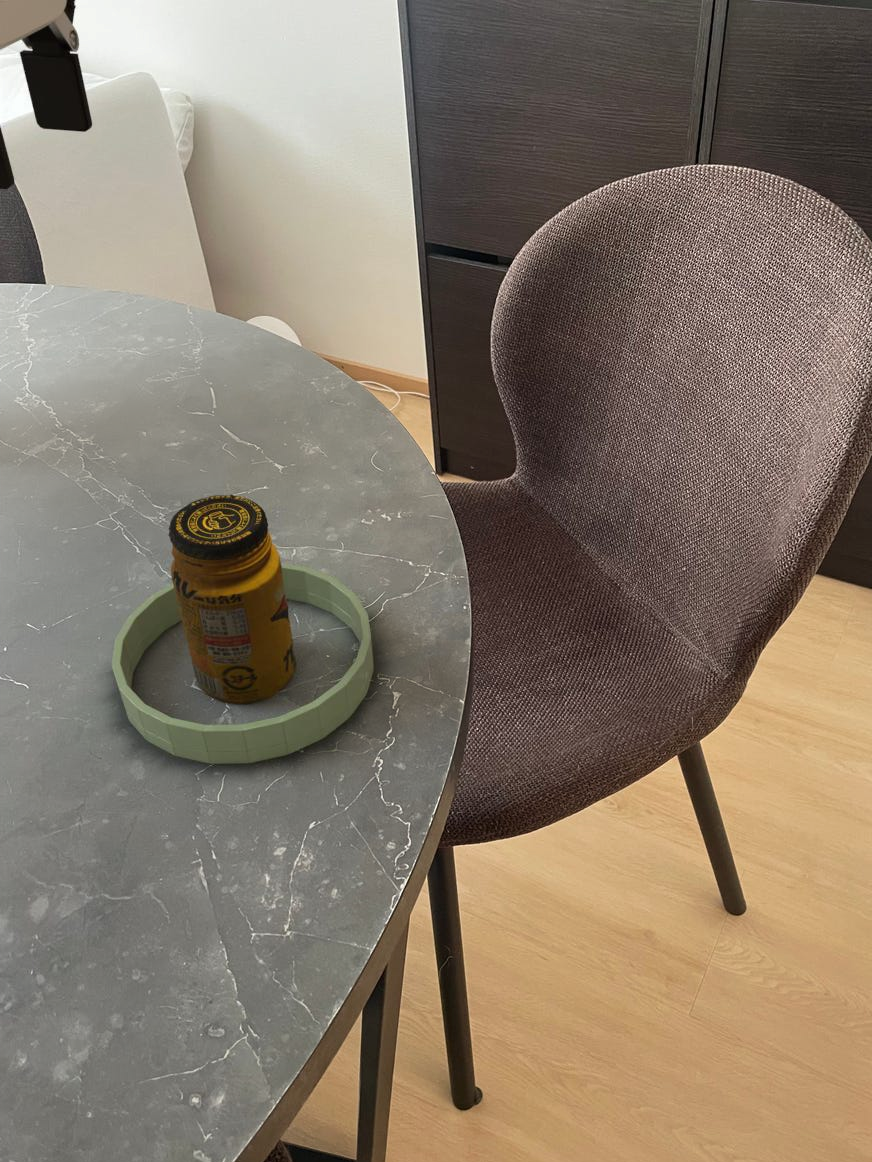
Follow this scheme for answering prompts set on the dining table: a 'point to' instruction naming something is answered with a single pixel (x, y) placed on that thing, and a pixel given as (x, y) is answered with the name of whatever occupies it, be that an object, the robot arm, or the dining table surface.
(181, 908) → the dining table surface
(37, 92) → the robot arm
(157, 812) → the dining table surface
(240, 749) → the green faceted hoop
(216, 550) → the yellow coffee can
